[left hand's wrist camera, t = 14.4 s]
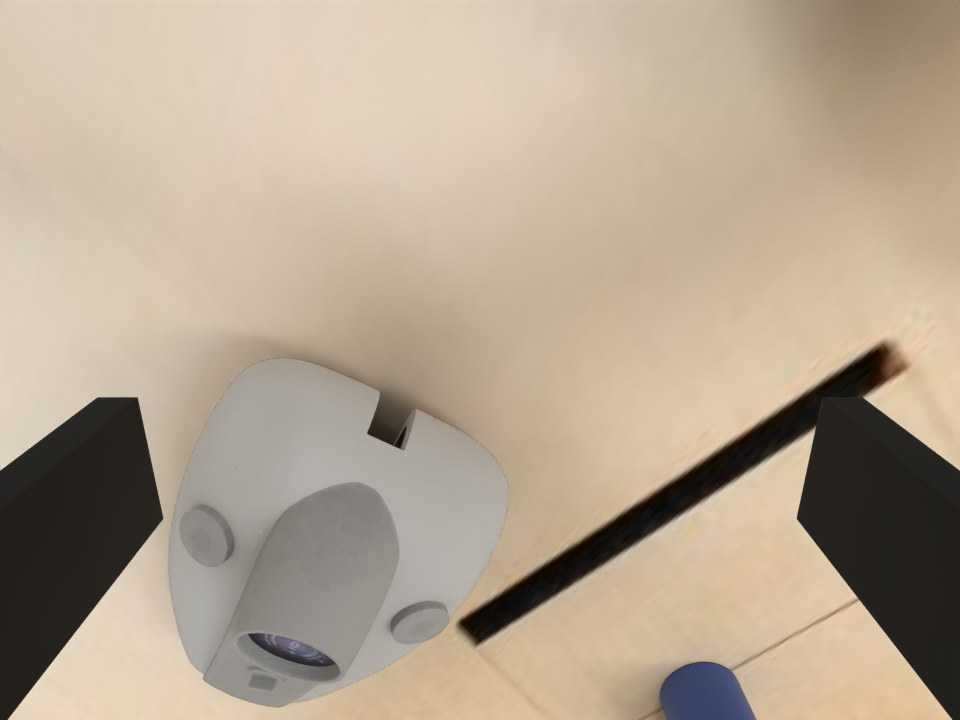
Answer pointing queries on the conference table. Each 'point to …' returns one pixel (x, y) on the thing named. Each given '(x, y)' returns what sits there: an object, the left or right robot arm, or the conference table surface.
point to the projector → (322, 534)
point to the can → (704, 694)
